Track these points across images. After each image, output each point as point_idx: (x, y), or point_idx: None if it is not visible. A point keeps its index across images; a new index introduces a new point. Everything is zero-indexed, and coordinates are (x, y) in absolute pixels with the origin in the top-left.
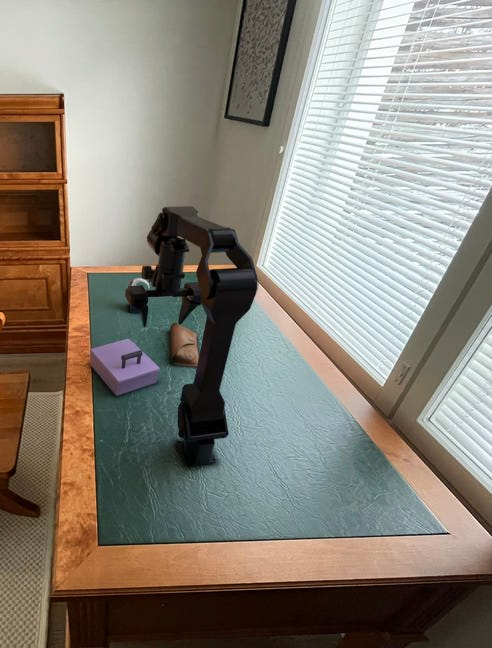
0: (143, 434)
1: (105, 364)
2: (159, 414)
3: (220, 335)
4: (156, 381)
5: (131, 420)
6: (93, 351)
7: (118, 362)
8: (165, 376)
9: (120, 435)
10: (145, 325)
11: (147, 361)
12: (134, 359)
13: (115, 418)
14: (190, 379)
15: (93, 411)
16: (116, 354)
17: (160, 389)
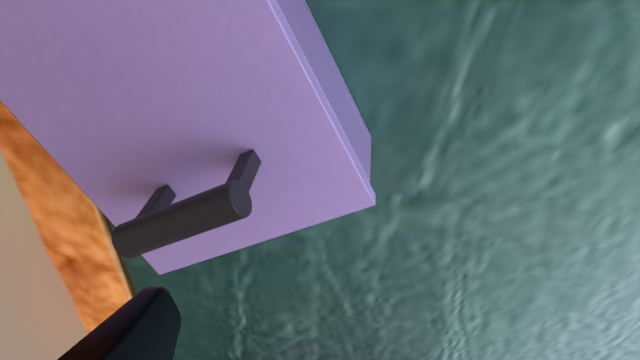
0: (284, 344)
1: (63, 161)
2: (346, 291)
3: None
4: (370, 141)
5: (249, 303)
6: None
7: (131, 148)
8: (433, 90)
9: (219, 340)
10: (166, 357)
11: (308, 144)
12: (225, 123)
13: (198, 293)
14: (567, 118)
15: (121, 264)
16: (101, 67)
17: (380, 180)
